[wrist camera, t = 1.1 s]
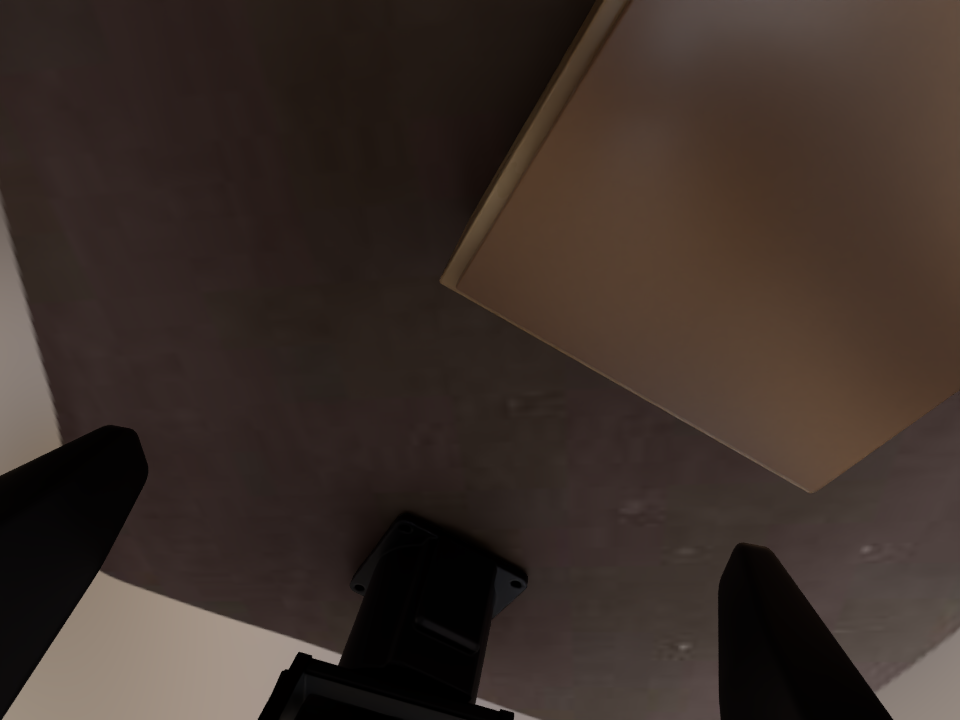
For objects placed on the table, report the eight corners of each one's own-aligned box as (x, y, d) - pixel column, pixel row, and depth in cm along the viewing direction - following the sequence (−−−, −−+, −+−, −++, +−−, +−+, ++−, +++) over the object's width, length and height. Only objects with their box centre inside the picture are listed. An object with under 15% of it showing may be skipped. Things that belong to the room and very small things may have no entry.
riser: (784, 405, 22) (814, 508, 18) (469, 219, 20) (432, 292, 16) (1233, 27, 14) (1441, 75, 10) (786, -329, 12) (848, -418, 9)
